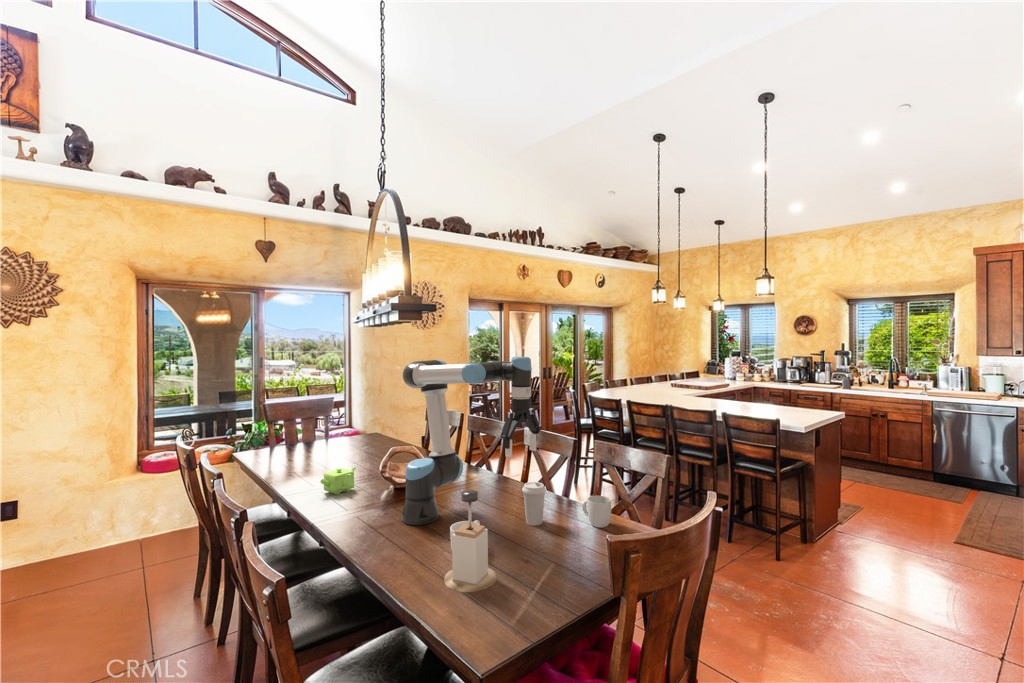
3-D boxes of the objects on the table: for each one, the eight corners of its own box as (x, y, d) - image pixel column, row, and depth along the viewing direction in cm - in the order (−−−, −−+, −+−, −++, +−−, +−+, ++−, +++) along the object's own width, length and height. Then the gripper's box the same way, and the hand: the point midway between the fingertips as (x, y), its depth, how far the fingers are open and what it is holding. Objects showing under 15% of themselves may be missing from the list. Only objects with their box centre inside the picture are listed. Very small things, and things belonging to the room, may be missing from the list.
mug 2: (615, 525, 183) (615, 499, 183) (601, 531, 177) (601, 505, 177) (590, 515, 193) (590, 491, 193) (576, 521, 187) (575, 496, 187)
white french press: (452, 581, 140) (451, 531, 140) (465, 569, 148) (464, 521, 148) (476, 586, 137) (475, 535, 137) (488, 573, 145) (487, 525, 144)
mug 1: (468, 559, 156) (467, 535, 156) (443, 552, 161) (443, 528, 161) (491, 544, 167) (490, 521, 167) (467, 537, 173) (467, 516, 173)
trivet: (433, 588, 138) (433, 585, 138) (460, 563, 153) (460, 561, 153) (482, 599, 132) (482, 596, 132) (504, 572, 147) (504, 570, 147)
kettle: (357, 486, 235) (357, 463, 234) (353, 495, 221) (353, 471, 220) (326, 488, 232) (325, 465, 231) (320, 497, 218) (319, 473, 218)
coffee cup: (544, 528, 181) (544, 489, 181) (520, 526, 183) (520, 488, 183) (547, 518, 190) (547, 481, 190) (524, 517, 192) (524, 480, 192)
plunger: (456, 545, 141) (456, 494, 141) (466, 537, 146) (465, 488, 146) (474, 548, 138) (473, 497, 138) (483, 540, 144) (482, 490, 144)
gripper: (505, 402, 165) (505, 462, 165) (549, 395, 183) (549, 449, 183) (490, 400, 170) (490, 458, 170) (535, 393, 188) (534, 446, 188)
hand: (521, 453), depth 177 cm, fingers open, 13 cm apart
